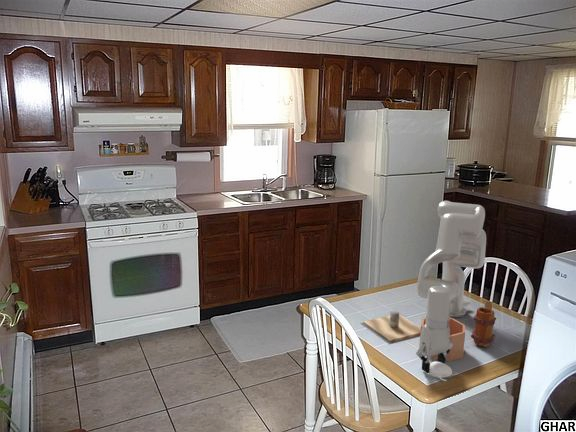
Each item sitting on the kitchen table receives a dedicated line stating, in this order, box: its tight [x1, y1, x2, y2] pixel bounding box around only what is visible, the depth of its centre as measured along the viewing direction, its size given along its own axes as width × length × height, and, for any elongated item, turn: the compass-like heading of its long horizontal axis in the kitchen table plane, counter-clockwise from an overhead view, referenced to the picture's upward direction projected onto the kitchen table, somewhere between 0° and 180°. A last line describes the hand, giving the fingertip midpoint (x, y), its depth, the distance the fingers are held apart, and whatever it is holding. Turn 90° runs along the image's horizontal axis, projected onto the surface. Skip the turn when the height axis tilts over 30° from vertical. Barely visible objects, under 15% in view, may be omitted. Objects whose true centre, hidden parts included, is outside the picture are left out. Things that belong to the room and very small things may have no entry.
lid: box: [362, 310, 421, 343], centre depth 194 cm, size 18×18×7 cm
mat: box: [360, 321, 420, 345], centre depth 194 cm, size 20×20×1 cm
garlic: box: [428, 361, 454, 382], centre depth 162 cm, size 8×7×4 cm
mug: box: [470, 301, 497, 347], centre depth 183 cm, size 15×8×15 cm, turn 148°
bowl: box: [419, 317, 466, 362], centre depth 177 cm, size 16×16×10 cm
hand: (433, 368), depth 164 cm, fingers closed on garlic, 6 cm apart
